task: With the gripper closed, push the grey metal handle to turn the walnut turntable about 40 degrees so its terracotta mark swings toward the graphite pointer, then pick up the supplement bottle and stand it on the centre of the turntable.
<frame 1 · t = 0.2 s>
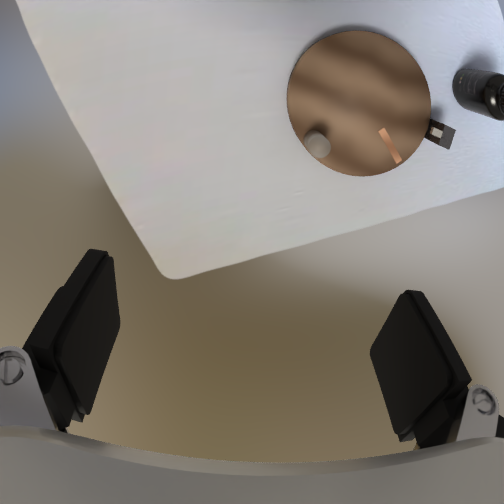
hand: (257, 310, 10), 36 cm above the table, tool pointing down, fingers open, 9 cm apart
turntable: (368, 105, 35), point 4 cm above the table, hinge at 0.0°
index pointer: (426, 127, 40), on the table
supplement bottle: (466, 88, 36), on the table
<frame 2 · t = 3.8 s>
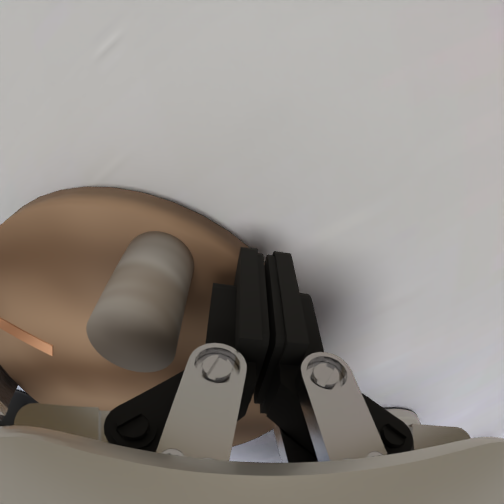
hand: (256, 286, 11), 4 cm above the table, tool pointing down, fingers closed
turntable: (113, 393, 15), point 4 cm above the table, hinge at 1.7°, touching gripper
index pointer: (12, 347, 19), on the table
supplement bottle: (34, 406, 24), on the table
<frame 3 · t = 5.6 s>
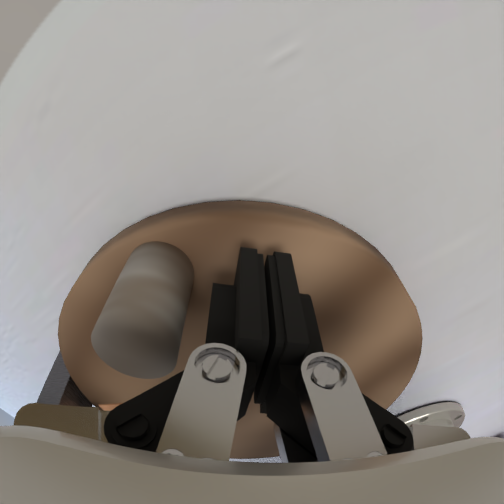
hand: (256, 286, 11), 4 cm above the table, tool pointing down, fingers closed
turntable: (238, 409, 15), point 4 cm above the table, hinge at 48.3°, touching gripper
index pointer: (80, 364, 19), on the table
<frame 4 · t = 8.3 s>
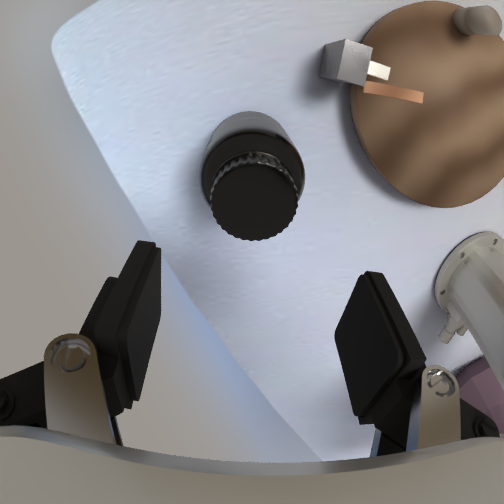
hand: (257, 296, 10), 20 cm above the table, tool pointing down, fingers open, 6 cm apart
turntable: (464, 109, 21), point 4 cm above the table, hinge at 48.3°
index pointer: (333, 63, 23), on the table
flask: (472, 372, 49), on the table
supplement bottle: (250, 147, 27), on the table
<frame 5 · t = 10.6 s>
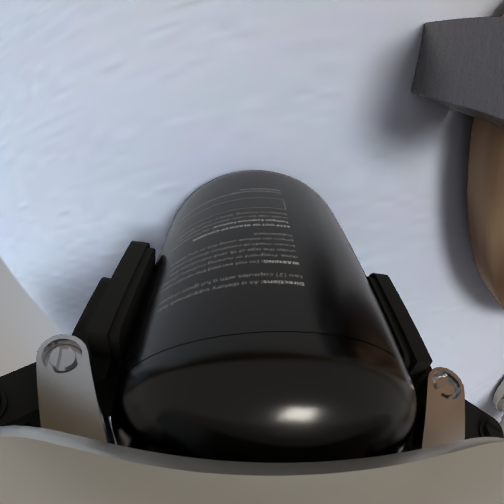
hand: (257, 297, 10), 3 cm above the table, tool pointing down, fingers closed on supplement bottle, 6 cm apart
index pointer: (439, 66, 9), on the table
supplement bottle: (255, 244, 13), on the table, touching gripper
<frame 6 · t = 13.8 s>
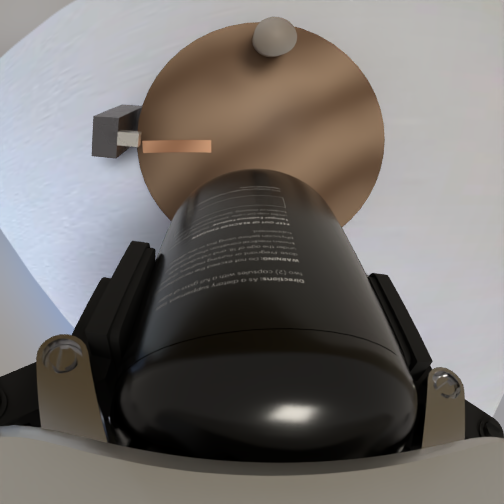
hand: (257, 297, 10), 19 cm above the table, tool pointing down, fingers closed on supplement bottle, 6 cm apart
turntable: (264, 151, 23), point 4 cm above the table, hinge at 48.3°
index pointer: (131, 121, 25), on the table
supplement bottle: (254, 243, 13), point 16 cm above the table, touching gripper
when the fingers open (7 cm above the table, at t = 16.8 s): supplement bottle drops 1 cm, resting on turntable.
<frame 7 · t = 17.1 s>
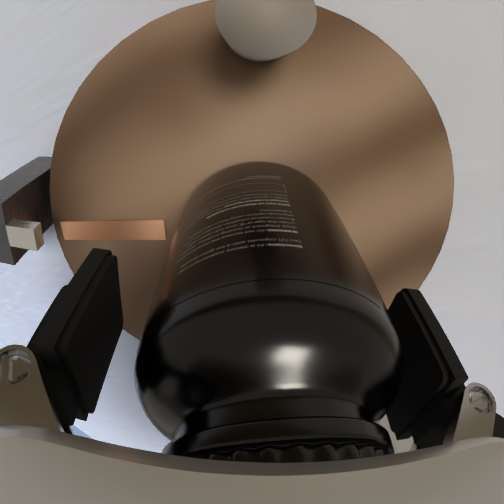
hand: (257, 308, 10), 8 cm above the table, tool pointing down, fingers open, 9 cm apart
turntable: (254, 241, 13), point 4 cm above the table, hinge at 48.3°, touching supplement bottle
index pointer: (53, 182, 16), on the table
supplement bottle: (258, 229, 15), point 3 cm above the table, touching turntable
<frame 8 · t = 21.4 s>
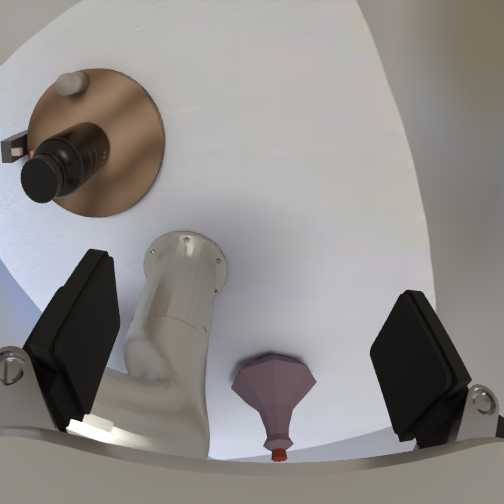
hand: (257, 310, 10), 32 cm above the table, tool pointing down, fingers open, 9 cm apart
turntable: (83, 148, 34), point 4 cm above the table, hinge at 48.3°, touching supplement bottle
index pointer: (30, 140, 36), on the table
flask: (272, 367, 62), on the table
supplement bottle: (88, 146, 35), point 3 cm above the table, touching turntable
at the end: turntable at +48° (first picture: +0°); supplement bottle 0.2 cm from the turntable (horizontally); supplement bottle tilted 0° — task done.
